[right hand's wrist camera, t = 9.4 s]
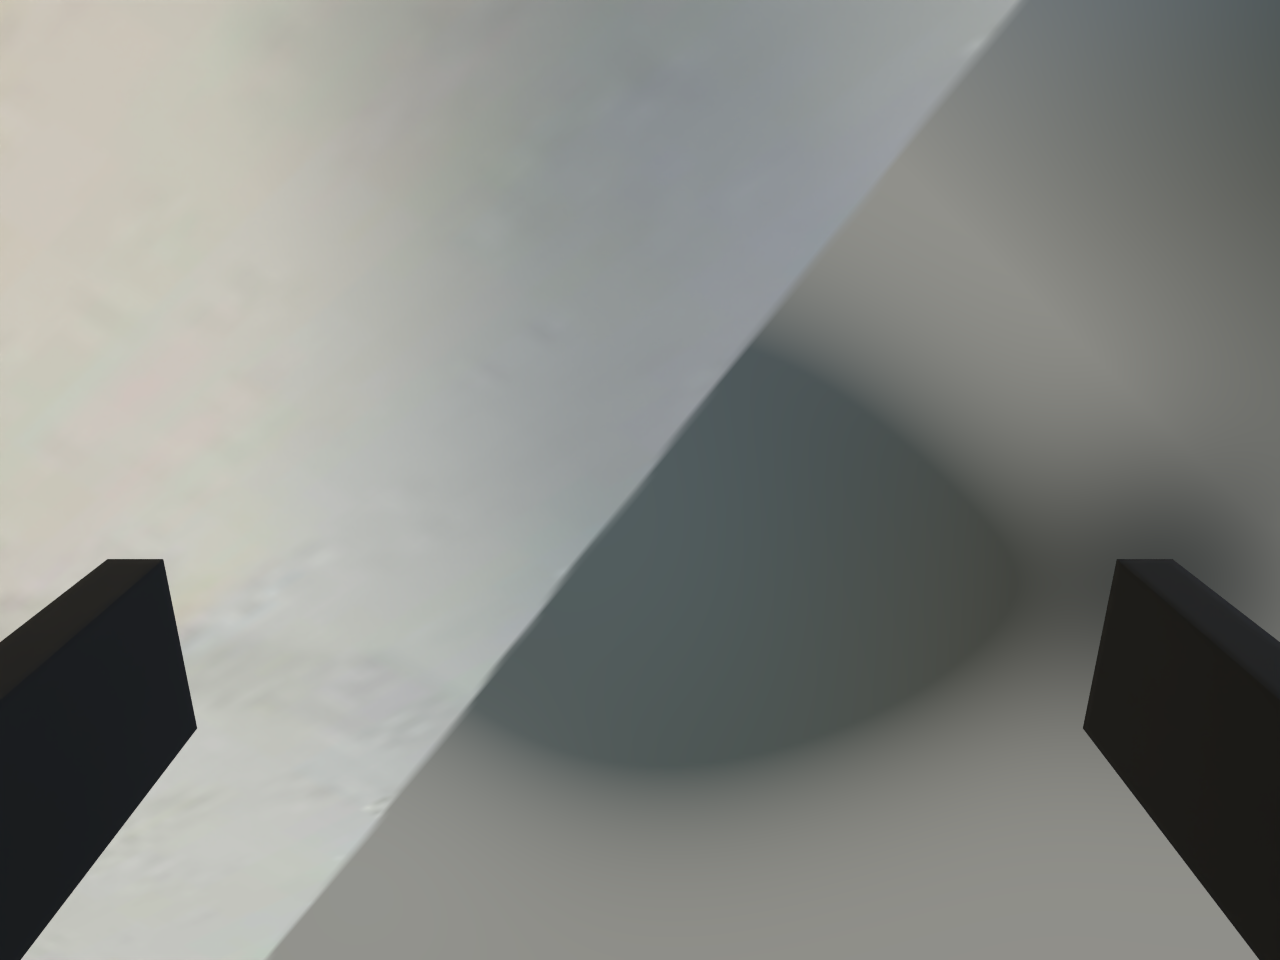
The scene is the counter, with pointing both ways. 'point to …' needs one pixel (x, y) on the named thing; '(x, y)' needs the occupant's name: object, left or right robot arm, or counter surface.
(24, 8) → the counter surface
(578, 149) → the counter surface
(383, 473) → the counter surface
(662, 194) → the counter surface
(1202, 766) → the right robot arm
